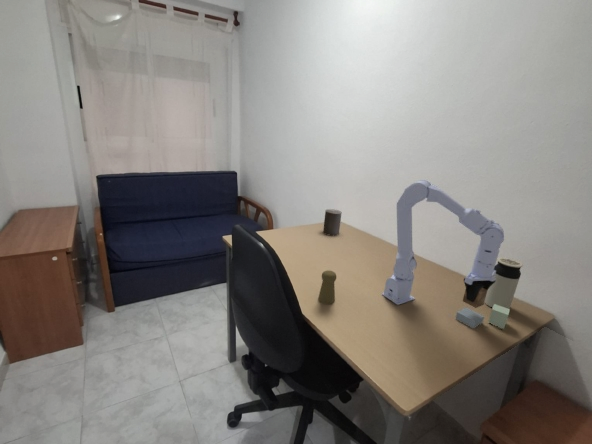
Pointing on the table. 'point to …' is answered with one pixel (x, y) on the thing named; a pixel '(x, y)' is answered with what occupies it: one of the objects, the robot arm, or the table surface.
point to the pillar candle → (332, 221)
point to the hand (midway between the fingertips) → (474, 298)
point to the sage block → (499, 316)
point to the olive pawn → (327, 287)
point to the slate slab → (469, 317)
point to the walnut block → (477, 298)
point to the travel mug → (504, 283)
